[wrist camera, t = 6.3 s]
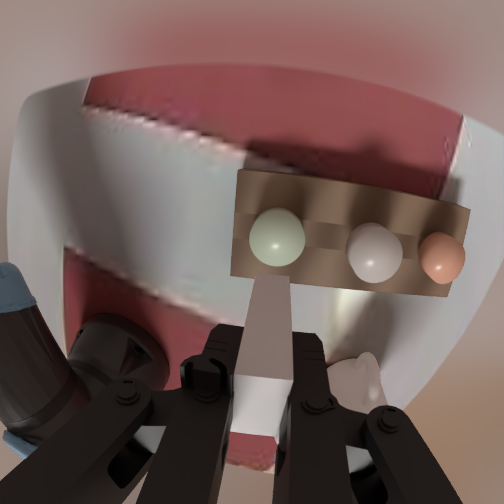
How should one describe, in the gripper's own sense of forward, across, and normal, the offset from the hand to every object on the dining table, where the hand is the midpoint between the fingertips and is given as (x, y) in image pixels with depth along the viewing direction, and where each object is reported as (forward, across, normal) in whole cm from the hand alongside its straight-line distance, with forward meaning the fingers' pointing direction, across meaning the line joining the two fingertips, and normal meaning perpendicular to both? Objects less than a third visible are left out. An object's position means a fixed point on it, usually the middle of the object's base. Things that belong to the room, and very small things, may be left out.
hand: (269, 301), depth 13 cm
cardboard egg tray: (+16, +8, 0) cm, 18 cm away
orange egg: (+14, +16, 0) cm, 21 cm away
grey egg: (+13, +8, 0) cm, 15 cm away
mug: (+16, +12, -18) cm, 27 cm away
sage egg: (+14, 0, 0) cm, 14 cm away
